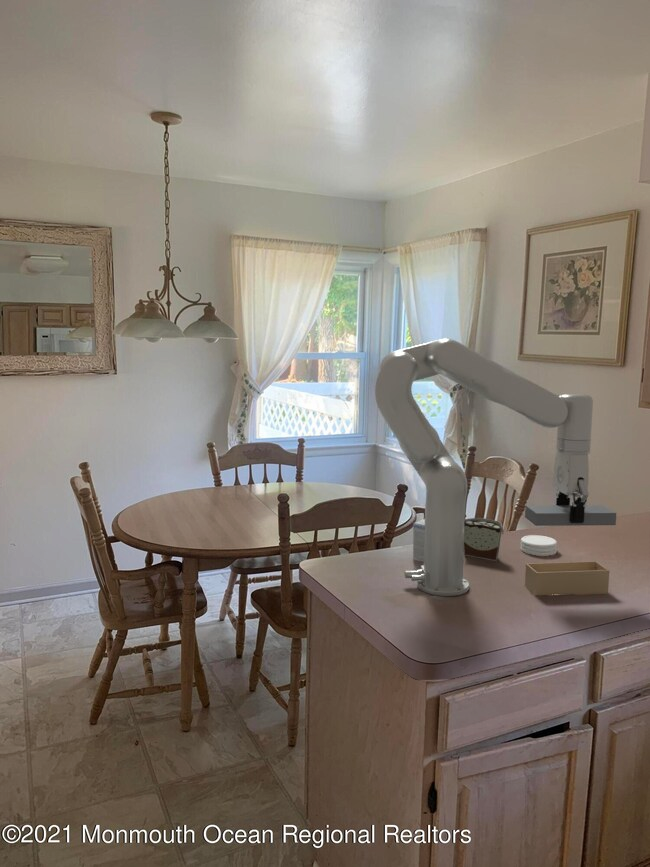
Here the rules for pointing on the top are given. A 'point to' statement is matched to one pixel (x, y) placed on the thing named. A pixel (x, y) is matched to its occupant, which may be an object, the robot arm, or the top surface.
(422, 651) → the top surface
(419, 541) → the light bulb box
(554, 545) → the white short cylinder
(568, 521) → the lid
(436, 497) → the robot arm
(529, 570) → the tan open box
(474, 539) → the food container
